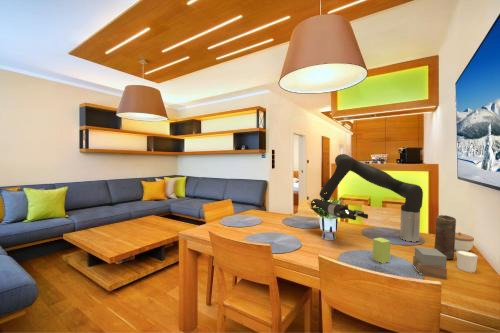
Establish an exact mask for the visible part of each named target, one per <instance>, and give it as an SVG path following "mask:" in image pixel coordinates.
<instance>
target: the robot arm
mask: <svg viewBox="0 0 500 333" xmlns="http://www.w3.org/2000/svg"><path fill="white" fill-rule="evenodd" d="M334 163H335V166H336V167H335V169H334V172H333V173H332V175H331V177H330V178H329V179H328V180H327V181H326V182H325V183H324V185H323V186H322V188H321V190H320V192H319V196H320V197H321V199H319V198H313V199H312V200H311V201H310V207H311V208H312V209H313V206H314V205H316V207H319V208H322V209H323V210H324V211H325V212H324V213H326V214H328V215H331V216H333V217H336V218H339V219H350V220H352V221H356V220H357V218H363V219H366V220H367V219H369V215H368V213H365V212H364V211H361V210H357V209H351V208H349V206H347V205H346V204H345V205H344V204H340V203H335V202H331V197H332V196H333V194H334V193H335V191H336V189H337V188H338V186H339V184H340V183H341V181H343V179H344V178H346V177H345V176H347V175H348V173H349V172H352V173H354V174H355V175H357V176H359V177H360V178H361V179H363V180H364V181H367V182H368V183H371V184H372V185H375V186H377V187H380V188H383V189H387V190H389V191H391V192H394V194H396V195H398V196H400V197H401V198H404V199H405V201H404V203H403V204H401V206H400V228H399V230H400V234H399V235H400V239H401V240H402V239H403V240H402V241H405V240H406V241H405V242H409V241H412V242H411V243H417V242H416V241H419V242H420V233H421V232H420V229H421V228H420V226H421V225H420V224H421V222H420V221H421V209H422V207H423V198H424V191H423V187H421V186H420V185H418V184H414V183H409V182H404V181H402V180H399V179H396V178H394V177H393V176H392V175H390V174H389V173H388V172H386V171H383V170H381V169H379V168H377V167H374V166H371V165H369V164H366V163H363V162H361V161H359V160H357V159H355V158H353V157H351V156H350V155H348V154H345V153H342V154H341V153H340V154H338V155H337V156H336V157H335V158H334ZM326 192H327V194H324V193H326ZM322 198H324V199H325V200H330V201H329V202H326V201H322ZM313 201H314V202H315V203H312V202H313Z"/></svg>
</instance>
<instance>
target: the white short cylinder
mask: <svg viewBox="0 0 500 333" xmlns="http://www.w3.org/2000/svg"><path fill="white" fill-rule="evenodd" d="M455 254H456V255H455V257H456V265H457V266H456V267H457V269H458V270H460V271H463V272H467V273H472V272H473V273H476V270H477V269H476V268H477V264H478V258H479V255H478V254H476V253H474V252H471V251H455Z"/></svg>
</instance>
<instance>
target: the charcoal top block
mask: <svg viewBox="0 0 500 333" xmlns="http://www.w3.org/2000/svg"><path fill="white" fill-rule="evenodd" d="M414 256H415V258H416V259H417V260H418V261H419V262H420V263H421V264H422V265H426V266H435V267H444V268H446V269H447V262H448V261H447V260H448V259H447V257H446V256H445V255H444V254H442V253H441V252H439V251H438V250H437V249H434V248H428V247H420V246H419V247H418V246H414Z"/></svg>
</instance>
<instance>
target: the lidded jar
mask: <svg viewBox="0 0 500 333" xmlns="http://www.w3.org/2000/svg"><path fill="white" fill-rule="evenodd" d="M474 240H475V238H474V237H473V236H471V235H469V234H465V233H461V231H460V232H459V231H458V232H455V249H454V252H456V251H467V252H470V250H472V249H473V246H474Z"/></svg>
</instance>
